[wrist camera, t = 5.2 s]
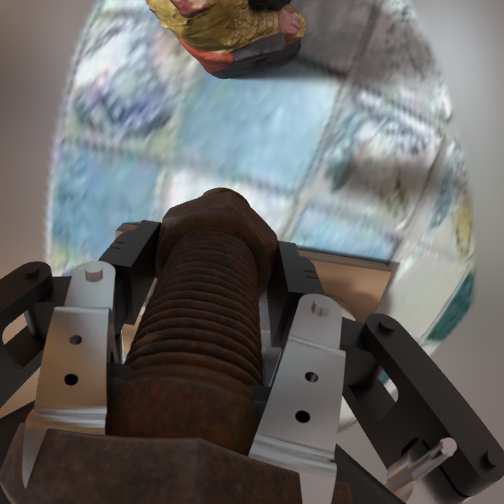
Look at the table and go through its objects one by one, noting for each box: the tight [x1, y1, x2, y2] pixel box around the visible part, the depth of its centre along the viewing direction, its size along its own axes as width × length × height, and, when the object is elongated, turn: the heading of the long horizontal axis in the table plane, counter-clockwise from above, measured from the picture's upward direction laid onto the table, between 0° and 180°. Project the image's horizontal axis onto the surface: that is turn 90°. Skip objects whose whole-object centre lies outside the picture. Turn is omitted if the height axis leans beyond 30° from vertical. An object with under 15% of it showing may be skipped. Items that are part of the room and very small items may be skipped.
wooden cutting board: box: [116, 223, 392, 358], centre depth 31 cm, size 25×25×2 cm
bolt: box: [0, 188, 353, 504], centre depth 9 cm, size 6×5×15 cm
